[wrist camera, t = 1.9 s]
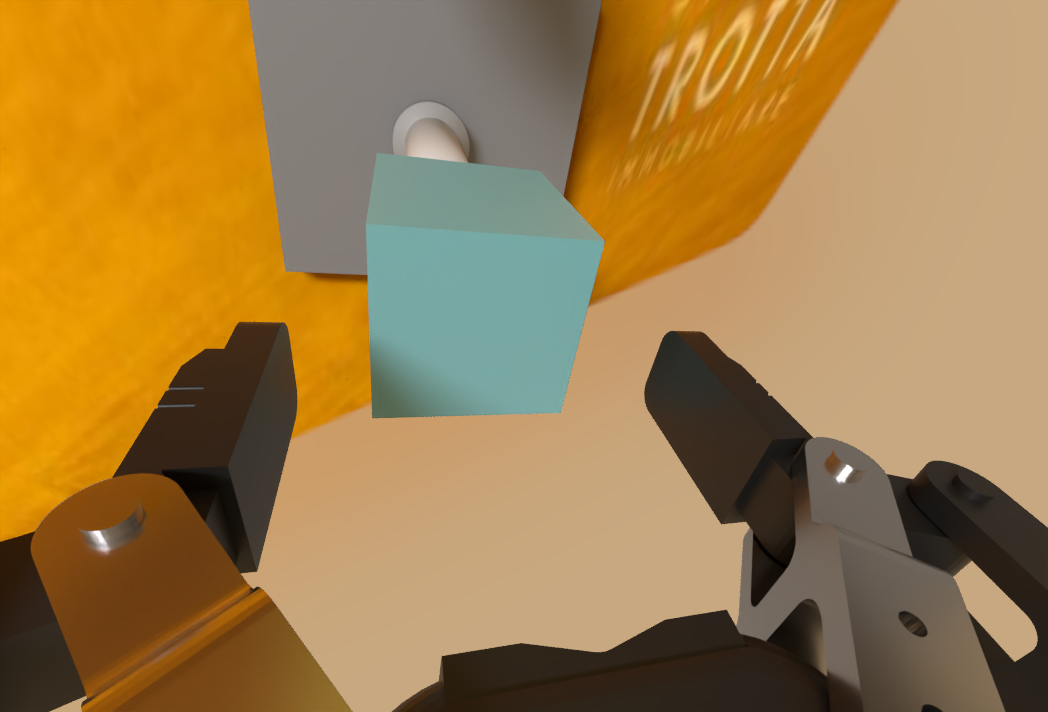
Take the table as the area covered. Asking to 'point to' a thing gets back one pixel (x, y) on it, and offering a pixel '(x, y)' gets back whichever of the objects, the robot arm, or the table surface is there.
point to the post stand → (409, 101)
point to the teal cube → (473, 288)
